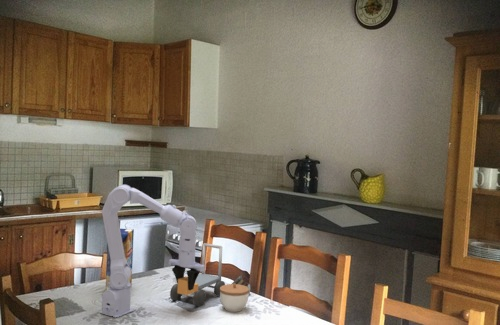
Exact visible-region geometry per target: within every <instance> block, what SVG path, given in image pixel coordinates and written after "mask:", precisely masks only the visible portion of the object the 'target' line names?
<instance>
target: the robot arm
mask: <svg viewBox="0 0 500 325" xmlns="http://www.w3.org/2000/svg"><path fill="white" fill-rule="evenodd" d="M128 202H129V204H131V205H132V204H140V205H142V206H144V207H146V208H148V209H150V210H152V211H153V212H155V213H158V215H159V216H160V219H161V220H162V221H164V222H166V223H168V224H169V225H171V226H173V227H175V228H178V229H179V230H180V236H179V245H178V259H177V258H175V259H174V258H171V259H168V266H174V267H172V268H171V272H173V275H174V277H175V281H176V284H177V285H178V279H180V278H183V277H185V272H186V274H187V277H188V290H192V289H193V288H194V284H195V281H196V279H197V277H198V275H199V274H201V273H202V272H203V271H206V264H205V265H202V263H199V262H197V261H196V244H197V242H196V241H197V237H196V234H197V233H196V230H197V228H198V227H197V220H196V219H195V217H193V216H192V215H191V214H188V212H183V211H181V210H180V209H178V208H176V207H177V206H176V205H175V204H172V205H171V204H166V205H163V204H162V203H160V202H158V201H157V200H155V198H152V197H150V196H149V195H148V194H146V193H144V192H143V191H140V190H139V189H137V188H135V187H131V186H130V185H128V184H121V185H120V184H119V186H116V187H114V189H112V190H111V192H109V194H108V195H107V198H106V200H105V203H104V204H103V208H102V210H101V213H102V214H101V215H102V219H103V220H102V221H103V224H104V225H103V227H104V230H105V231H104V232H105V237H106V242H107V243H108V248H109V254H110V259H111V265H110V270H111V275H110V278H109V281H110V287H109V289H108V290H106V289H105V291H103V293H102V296H101V310H100V311H99V313H100V314H103V315H106V316H108V317H109V316H110V317H112V316H113V317H112V318H116V317H117V318H119V316H120V317H121V316H122V317H123V316H125V315H127V314H129V313H132V312H134V311H136V308H135V307H131V297H132V296H131V295H132V294H131V293H132V292H131V291H132V285H131V283H130V282H129V278H130V277H131V275H132V276H133V269H132V270H131V268H130V267H129V265H128V263H127V259H126V258H125V254H124V248H123V243H122V237H121V232H120V229H121V228H120V227H121V226H120V223H119V222H120V221H119V216H118V215H119V214H118V213H119V211H120V210H121V209H122V207H123V206H125V205H126V204H127V203H128ZM186 269H189V270H186Z"/></svg>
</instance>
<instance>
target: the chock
mask: <svg viewBox="0 0 500 325" xmlns="http://www.w3.org/2000/svg"><path fill="white" fill-rule="evenodd" d="M196 291H198V284H197V283H195V284H194V288H193V289H192V290H188V276H185V275H184V277H183V278H180V279H178V289H177V293H179V294H183V295H182V296H186V295H188V294H191V295H192V294H194V293H195V292H196Z"/></svg>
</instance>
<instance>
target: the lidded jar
mask: <svg viewBox="0 0 500 325" xmlns="http://www.w3.org/2000/svg"><path fill="white" fill-rule="evenodd" d="M249 295H250V294H249V288H248V287H246V286H244V285H239V284H235V283H234V284H232V283H227V284H225V285H223V286H221V287H220V297H219V299H220V303H221V305H222V307H223V308H225V309H224V310H226V312H231V313H239V312H241V311H242V310H243V309H244V308H245V307H246V305H247V303H248V301H249V300H248V299H249Z"/></svg>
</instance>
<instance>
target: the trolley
mask: <svg viewBox="0 0 500 325" xmlns="http://www.w3.org/2000/svg"><path fill="white" fill-rule="evenodd" d="M207 247H208V248H211V249H218V251H219V252H218V270H217V271H218V272H217V273H218V274H217V275H213V274H208V273H205V271H206V270H205V271H203V272H201V273H199V275H198V277H197V279H196V281H195V283H197V284H198V291H196V292H193V294H192V293H191V294H188V295H185V296H186V297H192V303H193V305H194V306H196V307H201V306H202V305H203V304H204V303H205V300H206V297H207V296H206V291H205V290H204V289H205V288H210V289H213V294H214V296H216V297H219V298H220V287H221V286H223V285H226V283H225V281H223V280H222V268H223V267H222V264H223V262H222V261H223V246H222V245H218V244H211V243H205V242H204V243H203V244H202V253H201V254H202V258H201V264H202V265H205V266H206V251H207V250H206V248H207ZM214 284H215V285H214ZM177 289H178V285H177V283H175V284H174V285H173V286H172V287H171V288H170V292H169V297H170V299H171V300H173V301H175V302H177V301H179V300H180V299H181V298H182V296H184V295H183V294H179V293H177Z"/></svg>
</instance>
